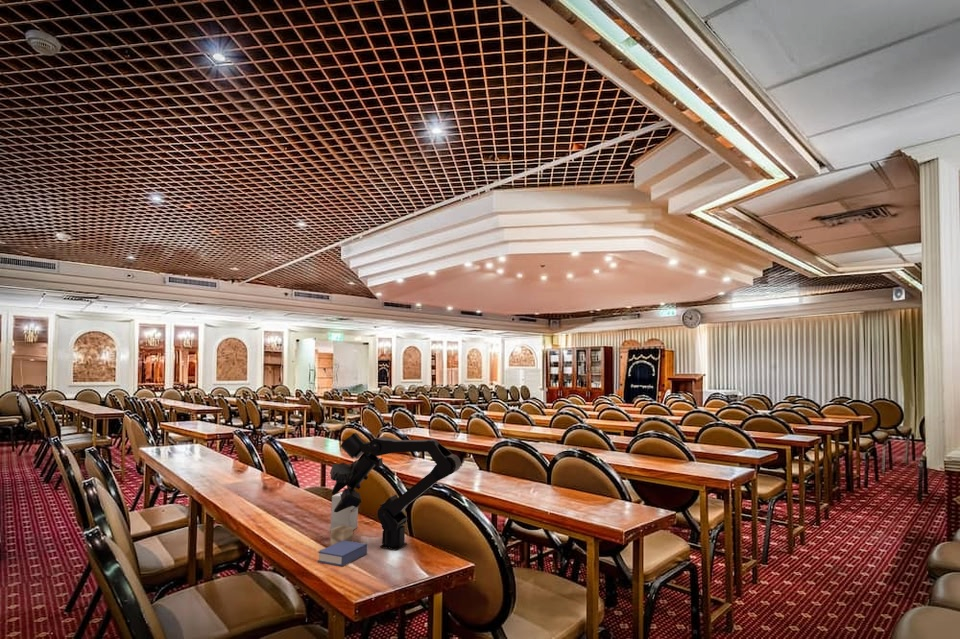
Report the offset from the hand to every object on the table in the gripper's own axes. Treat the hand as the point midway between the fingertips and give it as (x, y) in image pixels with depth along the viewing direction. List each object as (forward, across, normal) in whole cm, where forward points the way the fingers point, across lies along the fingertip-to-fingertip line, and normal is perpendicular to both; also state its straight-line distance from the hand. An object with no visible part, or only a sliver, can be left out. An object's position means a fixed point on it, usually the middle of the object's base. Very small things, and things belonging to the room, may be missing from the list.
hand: (333, 502), depth 174 cm
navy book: (+2, +22, +2) cm, 22 cm away
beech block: (+7, +10, +7) cm, 13 cm away
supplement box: (+11, -4, +13) cm, 17 cm away
